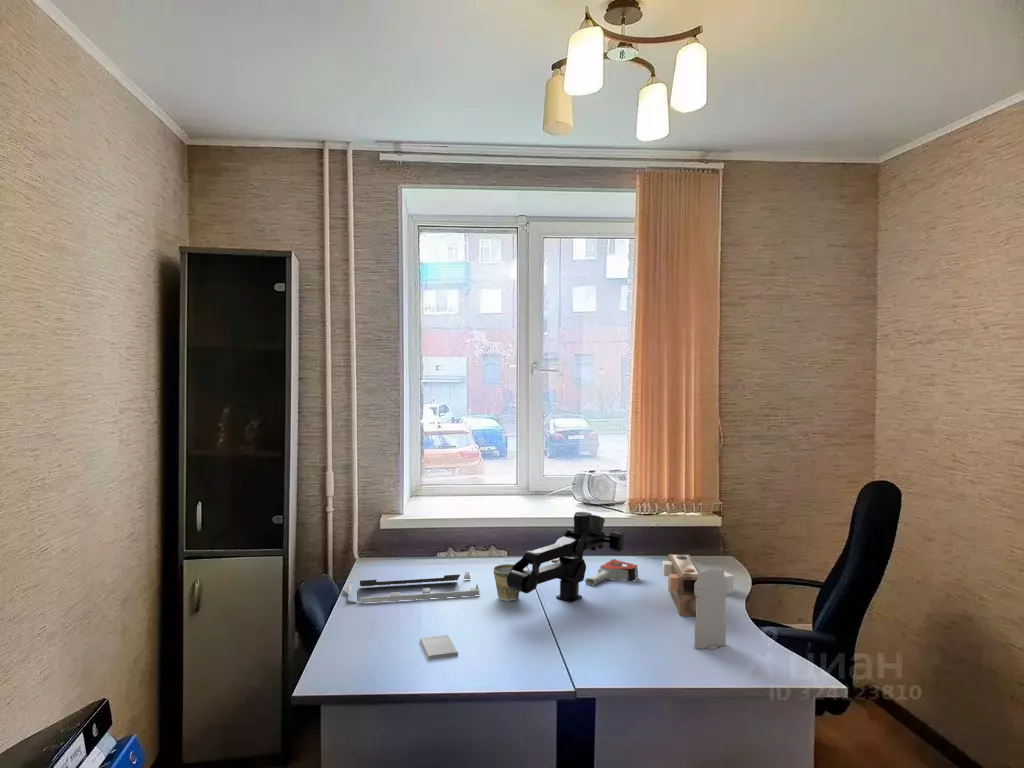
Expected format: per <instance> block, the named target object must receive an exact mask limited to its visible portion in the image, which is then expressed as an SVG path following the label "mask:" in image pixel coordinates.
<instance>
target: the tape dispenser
mask: <svg viewBox="0 0 1024 768" xmlns="http://www.w3.org/2000/svg"><path fill="white" fill-rule="evenodd" d="M623 565H626V566H623ZM638 570H639V569H638V565H637V564H635V563H629V562H625V561H621V560H617V559H615V558H611V559H610V560H609V561H606V562H605V563H604V564H602V565H600V568H599V569H598V571H597V572H598V573H596V574H594V575H592V576H590V577H586V578H584V582H585V584H586V585H588V584H590V585H589V586H593V585H594V586H596V585H597V584H599V583H601V582H602V581H604V580H605V578H607V579H606V580H608V579H614V580H613V581H619V580H621V581H623V580H627V581H628V580H630V581H629V582H634V581H633V580H635V581H637V580H639V573H638V572H639V571H638ZM636 579H637V580H636Z"/></svg>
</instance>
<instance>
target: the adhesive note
mask: <svg viewBox="0 0 1024 768" xmlns="http://www.w3.org/2000/svg"><path fill="white" fill-rule="evenodd" d="M724 575H725V579H727V580H728V592H727V594H733V593H734V589H735V588H734V587H735V586H734V583H735V582H734V579H735V578H734V577H735V576H734V575H733V574H732V573H729V572H726V571H724Z"/></svg>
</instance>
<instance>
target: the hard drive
mask: <svg viewBox="0 0 1024 768" xmlns="http://www.w3.org/2000/svg"><path fill="white" fill-rule="evenodd" d="M419 642H420V645H421V644H422V645H421V647H422V650H423V651H424V653H425V656H426V658H427V660H428V661H431V660H437V659H445V658H453V657H459V652H458V650H457V649H456V647H455V645H454V643H453V641H452V640H451V638H450V636H449V635H447V634H444V635H435V636H428V637H421V638H419Z"/></svg>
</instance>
